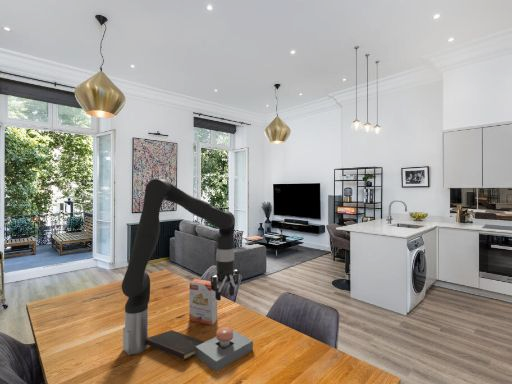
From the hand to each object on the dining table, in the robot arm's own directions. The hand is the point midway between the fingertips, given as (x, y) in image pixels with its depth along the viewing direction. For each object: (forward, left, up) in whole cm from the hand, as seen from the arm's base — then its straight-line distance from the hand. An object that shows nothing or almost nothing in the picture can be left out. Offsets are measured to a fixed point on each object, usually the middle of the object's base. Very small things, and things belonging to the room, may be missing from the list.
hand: (225, 297), depth 116 cm
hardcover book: (-13, +18, -24) cm, 32 cm away
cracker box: (+10, +30, -24) cm, 40 cm away
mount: (0, 0, -24) cm, 24 cm away
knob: (0, 0, -21) cm, 21 cm away
